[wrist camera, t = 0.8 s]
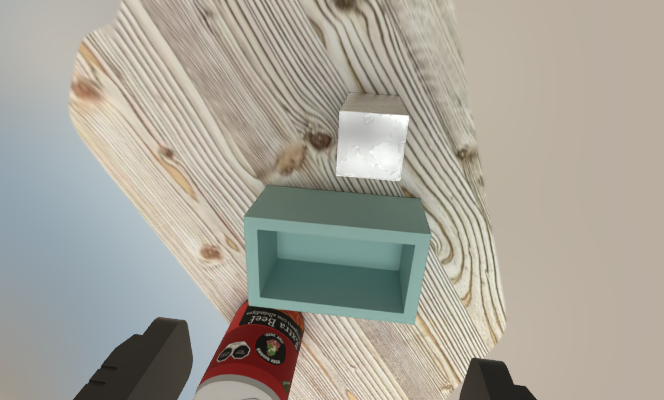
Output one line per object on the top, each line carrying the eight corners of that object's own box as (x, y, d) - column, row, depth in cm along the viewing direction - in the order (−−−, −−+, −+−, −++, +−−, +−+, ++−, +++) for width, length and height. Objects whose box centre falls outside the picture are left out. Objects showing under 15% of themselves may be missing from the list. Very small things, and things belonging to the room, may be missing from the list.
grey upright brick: (349, 92, 29) (339, 110, 21) (399, 95, 28) (409, 115, 20) (346, 140, 30) (335, 175, 22) (393, 144, 30) (400, 181, 22)
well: (267, 185, 33) (243, 216, 27) (420, 198, 32) (431, 234, 26) (269, 262, 36) (248, 305, 30) (407, 277, 35) (414, 324, 29)
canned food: (319, 316, 38) (299, 412, 28) (281, 357, 41) (252, 457, 31) (259, 279, 37) (216, 365, 27) (225, 324, 40) (176, 416, 30)
